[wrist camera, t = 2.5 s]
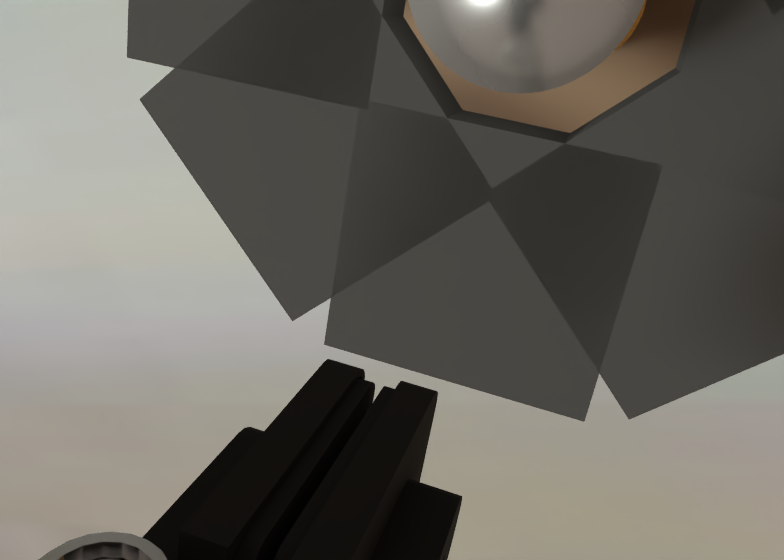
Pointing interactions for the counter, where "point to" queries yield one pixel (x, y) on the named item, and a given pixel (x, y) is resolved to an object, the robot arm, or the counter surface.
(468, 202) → the grey petal ring
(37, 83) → the counter surface
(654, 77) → the base board
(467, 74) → the steel pipe
